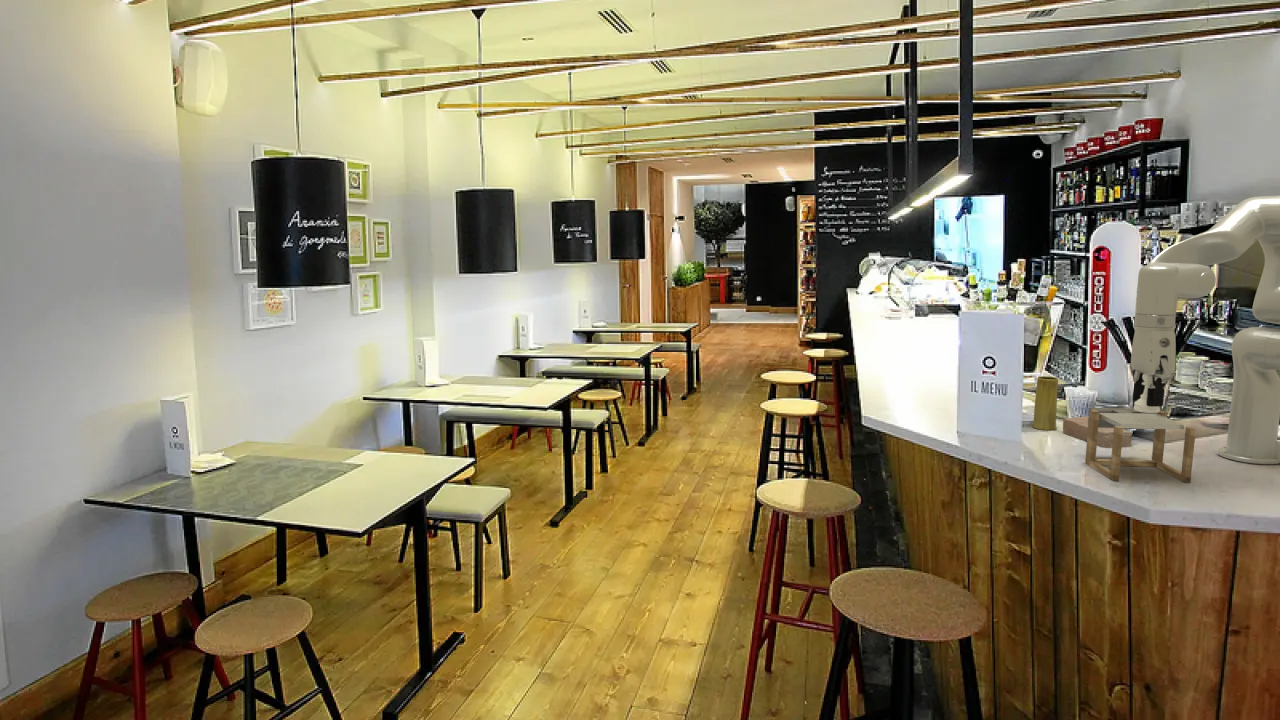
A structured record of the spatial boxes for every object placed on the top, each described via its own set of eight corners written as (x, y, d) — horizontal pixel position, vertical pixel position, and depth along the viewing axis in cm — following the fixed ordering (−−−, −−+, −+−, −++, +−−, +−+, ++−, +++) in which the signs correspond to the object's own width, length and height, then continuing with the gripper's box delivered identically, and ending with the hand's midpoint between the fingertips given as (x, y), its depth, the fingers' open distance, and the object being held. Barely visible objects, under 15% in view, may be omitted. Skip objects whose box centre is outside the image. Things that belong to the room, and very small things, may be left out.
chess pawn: (1163, 410, 178) (1167, 370, 176) (1155, 414, 175) (1159, 373, 173) (1138, 407, 181) (1141, 368, 180) (1130, 410, 178) (1133, 370, 177)
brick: (1133, 447, 205) (1135, 429, 204) (1103, 449, 203) (1105, 431, 203) (1088, 432, 221) (1089, 416, 220) (1060, 434, 220) (1061, 417, 219)
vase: (1057, 426, 226) (1061, 377, 224) (1055, 431, 221) (1059, 380, 218) (1033, 424, 229) (1036, 375, 227) (1030, 428, 224) (1034, 378, 222)
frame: (1156, 464, 188) (1161, 410, 186) (1190, 482, 175) (1196, 424, 173) (1085, 463, 190) (1089, 409, 188) (1113, 480, 176) (1117, 423, 174)
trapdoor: (1081, 423, 196) (1082, 405, 195) (1137, 424, 194) (1139, 406, 194) (1119, 443, 177) (1121, 423, 176) (1182, 444, 175) (1184, 424, 175)
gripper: (1195, 326, 166) (1187, 411, 169) (1152, 317, 183) (1145, 395, 186) (1156, 326, 167) (1149, 411, 170) (1117, 318, 184) (1111, 395, 187)
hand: (1147, 402), depth 178 cm, fingers open, 5 cm apart
